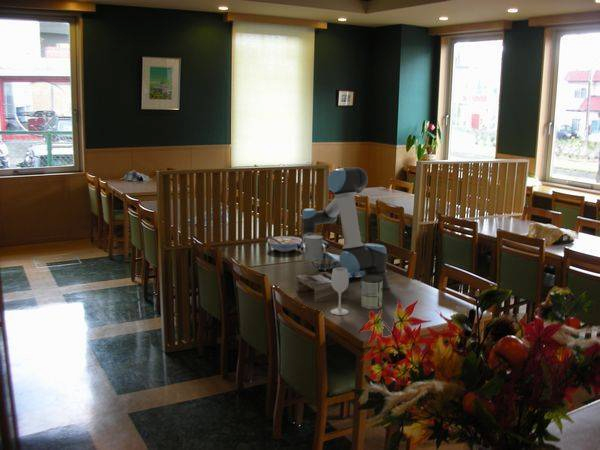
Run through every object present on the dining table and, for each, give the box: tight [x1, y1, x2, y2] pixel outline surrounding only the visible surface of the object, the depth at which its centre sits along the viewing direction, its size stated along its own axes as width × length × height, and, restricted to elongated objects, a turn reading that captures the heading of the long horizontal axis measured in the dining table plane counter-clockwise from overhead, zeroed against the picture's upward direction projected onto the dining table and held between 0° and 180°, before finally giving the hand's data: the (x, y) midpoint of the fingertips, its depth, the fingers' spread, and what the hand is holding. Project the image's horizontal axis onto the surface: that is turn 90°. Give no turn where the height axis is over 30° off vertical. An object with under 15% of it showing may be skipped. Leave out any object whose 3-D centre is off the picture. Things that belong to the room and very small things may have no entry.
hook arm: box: [310, 275, 331, 284], centre depth 324 cm, size 15×6×2 cm, turn 27°
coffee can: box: [360, 275, 383, 310], centre depth 306 cm, size 10×10×14 cm
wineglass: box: [329, 266, 350, 316], centre depth 296 cm, size 9×9×21 cm
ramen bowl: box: [266, 235, 303, 253], centre depth 416 cm, size 25×23×8 cm
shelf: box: [295, 271, 349, 303], centre depth 325 cm, size 22×18×8 cm
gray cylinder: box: [304, 234, 324, 263], centre depth 331 cm, size 10×10×12 cm
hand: (314, 249), depth 326 cm, fingers closed on gray cylinder, 9 cm apart
